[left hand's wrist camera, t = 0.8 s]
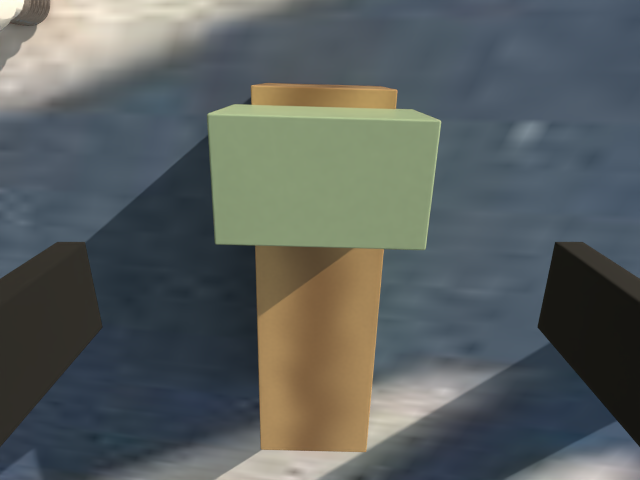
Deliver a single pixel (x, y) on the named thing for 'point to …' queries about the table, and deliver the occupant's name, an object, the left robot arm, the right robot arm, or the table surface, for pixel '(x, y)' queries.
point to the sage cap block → (322, 176)
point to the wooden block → (317, 316)
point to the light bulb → (23, 12)
